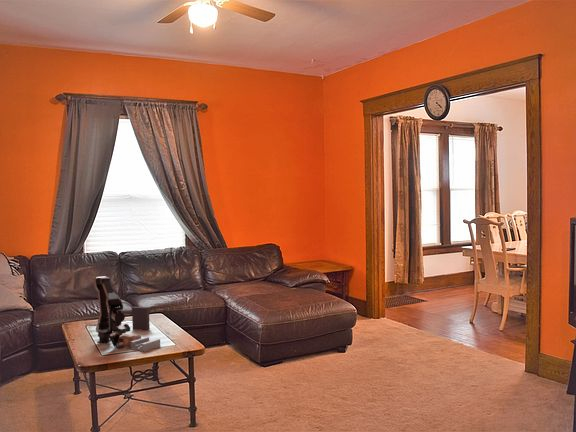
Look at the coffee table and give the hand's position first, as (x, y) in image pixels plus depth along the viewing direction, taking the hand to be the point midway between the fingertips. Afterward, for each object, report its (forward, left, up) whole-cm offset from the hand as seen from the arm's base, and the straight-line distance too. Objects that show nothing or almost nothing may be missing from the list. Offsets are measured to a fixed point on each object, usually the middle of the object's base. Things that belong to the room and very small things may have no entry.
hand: (114, 346), depth 309 cm
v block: (-4, +17, -2) cm, 18 cm away
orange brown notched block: (-7, +3, -2) cm, 7 cm away
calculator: (-44, -4, -2) cm, 44 cm away
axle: (-9, +4, -2) cm, 10 cm away
